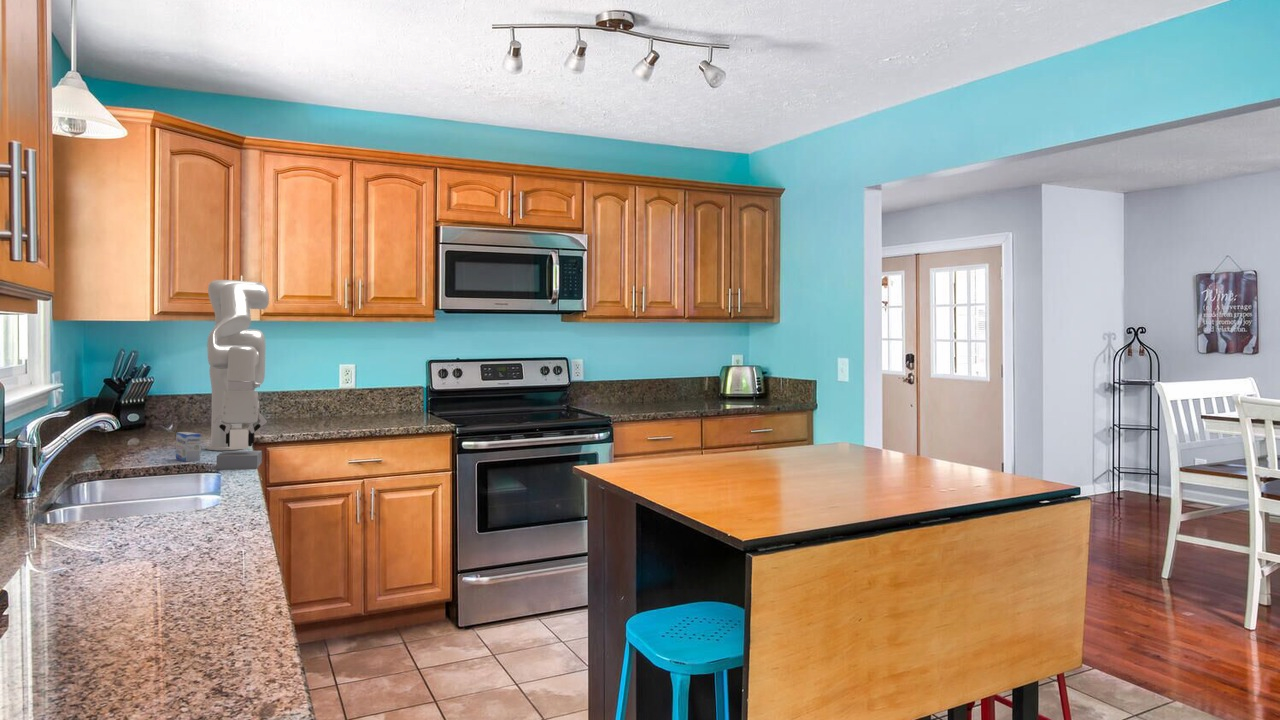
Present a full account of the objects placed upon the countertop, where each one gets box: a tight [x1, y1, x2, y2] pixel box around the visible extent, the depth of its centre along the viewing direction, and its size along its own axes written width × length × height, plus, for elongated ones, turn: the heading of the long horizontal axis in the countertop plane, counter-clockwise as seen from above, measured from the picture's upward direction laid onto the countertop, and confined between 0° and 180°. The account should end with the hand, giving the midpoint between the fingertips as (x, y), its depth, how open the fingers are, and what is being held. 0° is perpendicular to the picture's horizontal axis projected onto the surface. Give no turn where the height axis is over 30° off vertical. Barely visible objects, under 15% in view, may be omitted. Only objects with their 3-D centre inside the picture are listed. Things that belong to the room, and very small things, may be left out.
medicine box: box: [175, 431, 202, 463], centre depth 251 cm, size 8×4×9 cm, turn 52°
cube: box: [230, 427, 251, 450], centre depth 241 cm, size 5×5×6 cm
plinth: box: [215, 450, 263, 471], centre depth 241 cm, size 11×11×4 cm
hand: (240, 445), depth 241 cm, fingers closed on cube, 5 cm apart
